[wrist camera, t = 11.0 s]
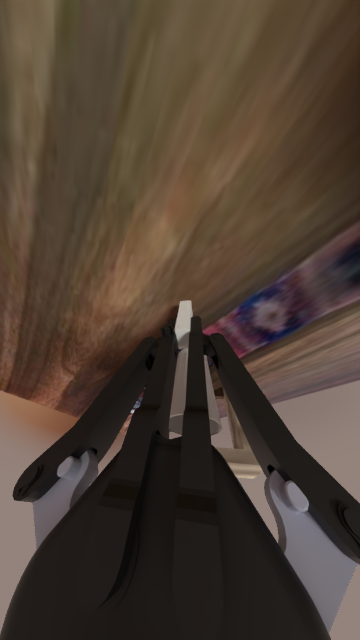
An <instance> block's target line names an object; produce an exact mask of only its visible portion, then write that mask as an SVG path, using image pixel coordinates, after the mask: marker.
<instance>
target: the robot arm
mask: <svg viewBox="0 0 360 640" xmlns="http://www.w3.org/2000/svg"><path fill="white" fill-rule="evenodd" d="M160 330H161V333H162V337H161V338H158V339H155V338H154V337H147V338H145V339H144V340H143V341H142V342H141V344H140V345H139V346H138V347H137V348H136V350H135V351H134V352H133V353H132V355H131V356H130V357H129V358H128V360H127V361H126V362H125V363H124V365H123V366H122V367H121V368H120V369H119V371H118V372H117V373H116V374H115V376H114V377H113V378H112V379H111V381H110V382H109V383H108V384H107V385H106V387H105V388H104V389H103V390H102V392H101V393H100V394H99V395H98V397H97V398H96V399H95V400H94V402H93V403H92V404H91V405H90V406H89V408H88V409H87V410H86V411H85V413H84V414H83V415H82V416H81V418H80V419H79V420H78V421H77V423H76V424H75V425H74V426H73V427H72V428H71V429H70V430H69V431H68V432H67V433H65V434H64V435H63V436H62V437H61V438H60V439H59V440H58V441H56V442H55V443H54V444H53V445H52V446H51V447H50V448H49V449H47V450H46V451H45V452H44V453H43V454H42V455H41V456H40V457H39V458H37V459H36V460H35V461H34V462H33V463H32V464H31V465H30V466H29V467H28V468H27V469H26V470H25V471H24V472H23V474H22V475H21V477H20V478H19V479H18V482H17V483H16V485H15V487H14V491H13V498H14V500H16V501H25V502H31V503H33V510H34V522H35V536H36V547H37V550H36V552H35V553H34V555H33V557H32V558H31V560H30V562H29V563H28V565H27V567H26V569H25V571H24V573H23V575H22V577H21V579H20V581H19V583H18V585H17V588H16V590H15V592H14V595H13V597H12V600H11V602H10V605H9V608H8V610H7V614H6V617H5V621H4V624H3V627H2V630H1V634H0V640H331V638H330V636H329V632H330V630H331V627H332V625H333V622H334V620H335V617H336V615H337V612H338V610H339V607H340V605H341V602H342V600H343V598H344V595H345V593H346V590H347V587H348V585H349V583H350V580H351V578H352V576H353V573H354V571H355V568H356V567H357V565H360V503H359V502H358V501H357V500H355V499H354V498H353V497H352V496H351V495H350V494H349V493H348V492H347V491H346V490H345V489H344V488H343V487H342V486H341V485H340V484H339V483H338V482H337V481H336V480H335V479H334V478H333V477H332V476H331V475H330V474H329V473H328V472H327V471H326V470H325V469H324V468H323V467H322V466H321V465H320V464H319V463H318V462H317V461H316V460H315V459H314V458H313V457H312V456H311V455H310V454H309V453H308V452H306V450H305V449H303V447H301V445H299V444H298V443H297V441H296V440H295V439H294V437H293V436H292V434H291V433H290V431H289V430H288V428H287V427H286V426H285V424H284V423H283V421H282V420H281V418H280V417H279V416H278V414H277V413H276V411H275V410H274V408H273V407H272V405H271V404H270V403H269V401H268V400H267V398H266V397H265V395H264V394H263V392H262V391H261V390H260V388H259V387H258V385H257V384H256V382H255V381H254V379H253V378H252V377H251V375H250V374H249V372H248V371H247V369H246V368H245V367H244V365H243V364H242V362H241V361H240V359H239V358H238V356H237V355H236V354H235V352H234V351H233V349H232V348H231V346H230V345H229V343H228V342H227V341H226V339H225V338H224V336H223V335H222V334H220V333H213V334H211V335H210V336H208V335H205V334H203V333H202V327H201V318H200V317H199V316H197V317H193V316H192V306H191V300H190V301H180V306H179V311H178V315H177V318H174V319H170V320H169V322H168V325H167V326H164V327H162V328H161V329H160ZM178 348H179V349H188V364H187V383H186V402H185V410H184V414H183V427H182V436H181V437H178V438H174V439H169V419H170V412H171V404H172V396H173V389H174V381H175V373H176V366H177V358H178ZM204 355H206V356H210V358H211V361H212V363H213V365H214V367H215V369H216V372H217V374H218V376H219V378H220V381H221V383H222V385H223V387H224V390H225V392H226V394H227V396H228V398H229V401H230V403H231V405H232V407H233V410H234V412H235V414H236V416H237V418H238V421H239V423H240V425H241V427H242V430H243V432H244V434H245V436H246V438H247V441H248V443H249V445H250V447H251V450H252V452H253V454H254V456H255V458H256V460H257V462H258V463H259V465H260V467H261V469H262V470H263V472H264V474H265V475H266V477H267V479H266V481H265V486H264V490H265V496H266V499H267V502H268V504H269V506H270V508H271V510H272V513H273V515H274V517H275V520H276V523H277V527H278V534H279V541H278V543H277V542H276V540H275V538H274V537H273V535H272V534H271V532H270V530H269V529H268V527H267V526H266V524H265V522H264V521H263V519H262V518H261V516H260V514H259V513H258V511H257V510H256V508H255V506H254V505H253V503H252V502H251V500H250V498H249V497H248V495H247V494H246V492H245V490H244V489H243V487H242V486H241V484H240V482H239V481H238V479H237V478H236V476H235V474H234V473H233V471H232V470H231V468H230V466H229V465H228V463H227V462H226V460H225V459H224V457H223V456H222V454H221V453H220V452H219V451H218V450H217V449H216V448H215V447H214V446H213V445H211V434H210V422H209V411H208V400H207V387H206V375H205V363H204ZM146 383H147V386H146V389H145V392H144V395H143V398H142V401H141V404H140V407H139V408H137V409H136V410H135V411H134V413H133V415H132V418H131V421H130V424H129V427H128V430H127V433H126V436H125V439H124V442H123V445H122V448H121V450H120V451H119V452H118V453H117V454H116V456H115V457H114V458H113V459H112V460H111V461H110V463H109V464H108V465H107V466H106V467H105V469H104V470H103V471H102V472H101V473H100V474H99V476H98V477H97V475H98V463H99V462H100V461H101V460H102V458H103V457H104V456H105V454H106V453H107V451H108V449H109V448H110V447H111V445H112V444H113V442H114V440H115V439H116V437H117V435H118V433H119V431H120V430H121V428H122V426H123V424H124V423H125V421H126V419H127V417H128V415H129V414H130V412H131V410H132V408H133V406H134V405H135V403H136V401H137V399H138V398H139V396H140V394H141V392H142V390H143V389H144V387H145V385H146ZM96 477H97V478H96ZM91 483H92V484H91ZM90 484H91V485H90ZM89 485H90V486H89Z"/></svg>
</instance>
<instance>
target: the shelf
mask: <svg viewBox="0 0 360 640" xmlns="http://www.w3.org/2000/svg"><path fill="white" fill-rule="evenodd" d="M209 371H210V376H211V380H212V385H213V390H214V394H215V399H224V402H225V407H226V412H227V417H228V422H229V426H230V432H231V437H232V443H233V448H234V449H232V448H218V447H215V448H216V449H217V450H218V451H219V452H220V453H221V454H222V456H223V457H224V459H225V460H226V462H227V463H228V465H229V466H230V468H231V470H232V471H233V473H234V474H235V476H236V477H240V478H250V479H254V478H255V477H256V476H257V475H258V474H259V473H260V472H261V471H262V469H261V467H260V465H259V463H258V462H257V460H256V458H255V456H254V454H253V452H252V450H251V447H250V445H249V443H248V441H247V438H246V436H245V434H244V432H243V430H242V427H241V425H240V423H239V421H238V418H237V416H236V414H235V412H234V410H233V407H232V405H231V403H230V401H229V398H228V396H227V394H226V392H225V390H224V387H223V385H222V383H221V381H220V378H219V376H218V374H217V372H216V369H215V367H214V365H212V366H210V367H209Z"/></svg>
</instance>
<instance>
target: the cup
mask: <svg viewBox="0 0 360 640" xmlns="http://www.w3.org/2000/svg"><path fill="white" fill-rule="evenodd" d="M204 363H205V375H206V387H207V400H208V411H209V422H210V434H211V435H214V434H217V433H218V432H220V431H221V428H222V425H221V421H220V417H219V412H218V408H217V403H216V399H215V394H214V390H213V385H212V380H211V376H210V371H209V366H208V361H207V356H206V355H204ZM187 364H188V349H183V350H181V351H180V352H179V354H178V359H177V366H176V373H175V381H174V389H173V396H172V404H171V412H170V419H169V430H170V431H172V432H175V433H178V434H181V435H182V427H183V414H184V410H185V402H186V383H187Z"/></svg>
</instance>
